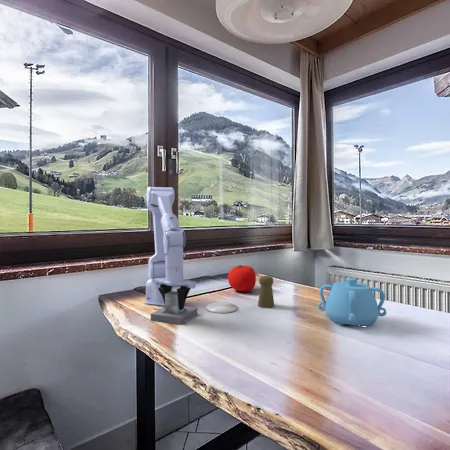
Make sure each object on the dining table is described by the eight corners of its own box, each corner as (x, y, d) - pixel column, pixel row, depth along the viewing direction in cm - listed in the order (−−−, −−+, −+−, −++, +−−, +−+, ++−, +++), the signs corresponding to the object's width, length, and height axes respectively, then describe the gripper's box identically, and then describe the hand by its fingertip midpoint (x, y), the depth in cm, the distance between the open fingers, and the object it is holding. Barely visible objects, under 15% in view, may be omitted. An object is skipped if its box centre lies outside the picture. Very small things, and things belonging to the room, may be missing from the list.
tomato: (262, 289, 142) (262, 264, 142) (247, 296, 130) (247, 268, 130) (238, 286, 149) (238, 261, 148) (222, 292, 137) (222, 266, 137)
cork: (274, 308, 114) (274, 278, 113) (257, 307, 115) (257, 277, 115) (274, 303, 120) (274, 274, 119) (258, 303, 121) (258, 274, 120)
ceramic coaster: (201, 311, 111) (201, 309, 111) (213, 302, 121) (213, 301, 121) (230, 314, 107) (230, 313, 107) (241, 305, 117) (241, 304, 117)
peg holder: (150, 320, 102) (150, 313, 102) (169, 310, 112) (169, 304, 112) (181, 324, 98) (181, 318, 98) (197, 313, 108) (197, 307, 108)
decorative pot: (354, 311, 111) (354, 272, 110) (392, 326, 95) (392, 281, 95) (313, 316, 105) (314, 275, 105) (347, 333, 90) (347, 285, 90)
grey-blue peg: (165, 318, 104) (165, 293, 103) (172, 314, 108) (172, 290, 108) (177, 319, 102) (177, 295, 102) (184, 315, 106) (183, 291, 106)
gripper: (148, 267, 103) (149, 309, 104) (188, 270, 98) (188, 314, 99) (160, 264, 110) (160, 303, 110) (198, 266, 105) (198, 307, 105)
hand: (174, 308), depth 105 cm, fingers closed on grey-blue peg, 4 cm apart
